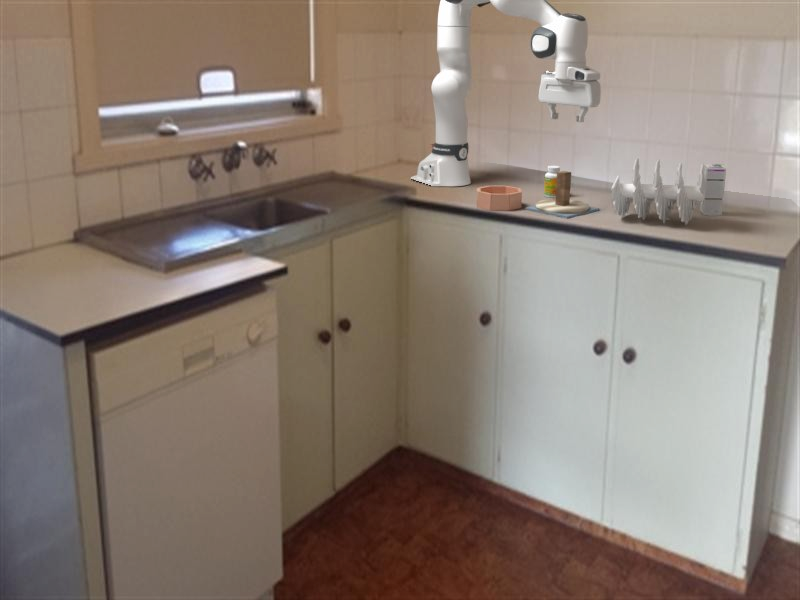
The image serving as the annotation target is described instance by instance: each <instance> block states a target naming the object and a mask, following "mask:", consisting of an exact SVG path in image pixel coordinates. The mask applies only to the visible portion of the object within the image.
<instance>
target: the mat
mask: <svg viewBox="0 0 800 600" xmlns="http://www.w3.org/2000/svg"><path fill="white" fill-rule="evenodd" d="M600 209H601V208H600V207H595V206H591V205H589V210H588V211H586V212H582V213H575V214H558V213H549V212H544V211H541V210H538V209H537V208H536V204H535V205H529V206H526V207H524V210H526V211H529V212H535V213H540V214H544V215H550V216H553V215H555V217H558V216H559V218H563V217H564V218H563V219H571V218H575V217H579V216H581V215H586V214H590V213H593V212H598V211H600ZM570 217H571V218H570Z"/></svg>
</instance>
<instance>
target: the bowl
mask: <svg viewBox="0 0 800 600" xmlns="http://www.w3.org/2000/svg"><path fill="white" fill-rule="evenodd" d="M522 193H523V191H522V188H520V187H517V186H516V187H515V186H510V185H486V186H480V187H476V208H479V209H482V210H486V211H496V212H497V211H498V212H499V211H503V212H504V211H505V212H506V211H507V212H508V211H514V210H519V209H522V201H523V200H522V197H523V196H522V195H523V194H522Z"/></svg>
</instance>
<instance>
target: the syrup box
mask: <svg viewBox="0 0 800 600" xmlns="http://www.w3.org/2000/svg"><path fill="white" fill-rule="evenodd" d="M726 175H727V167H726V166H725V165H724V164H719V163H708V164H706V163H705V164H704V179H705V197H704V201H701V200H700V206H699V211H700V213H701V215H702V216H710V217H711V216H712V217H713V216H714V217H715V216H716V217H717V216H718V217H721V216H722V214H723V205H724V198H725V197H724V195H725V186H726Z"/></svg>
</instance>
